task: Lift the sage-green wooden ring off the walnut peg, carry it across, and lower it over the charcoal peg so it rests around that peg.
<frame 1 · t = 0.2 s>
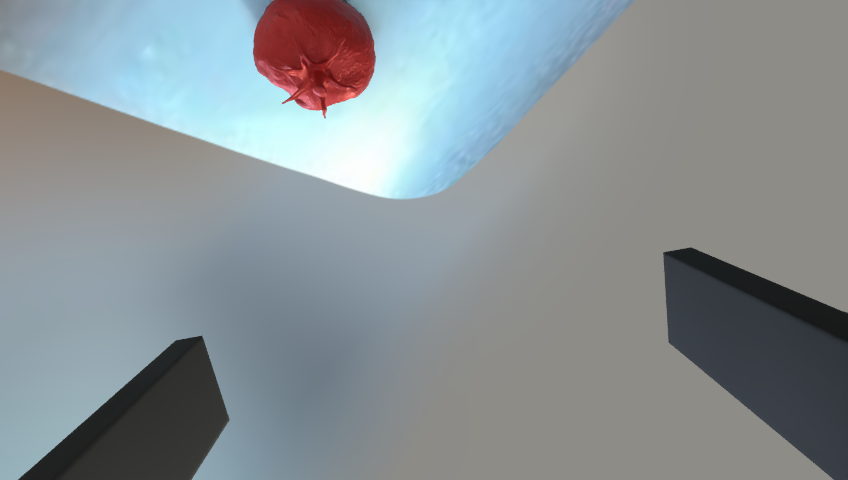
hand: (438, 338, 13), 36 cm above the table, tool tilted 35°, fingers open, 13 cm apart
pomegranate: (318, 34, 41), on the table
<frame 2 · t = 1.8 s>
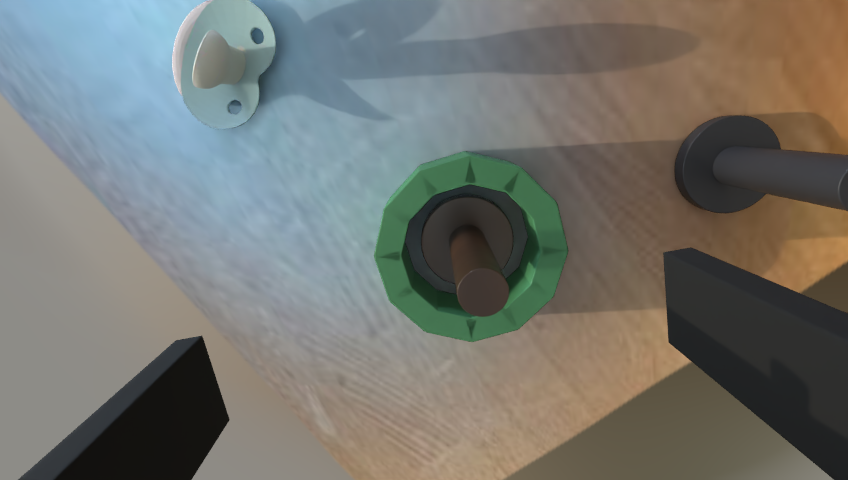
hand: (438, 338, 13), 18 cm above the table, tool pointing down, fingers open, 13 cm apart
charcoal peg: (722, 164, 29), on the table
ring: (466, 238, 31), on the table
pacifier: (228, 62, 28), on the table
walnut peg: (466, 238, 31), on the table
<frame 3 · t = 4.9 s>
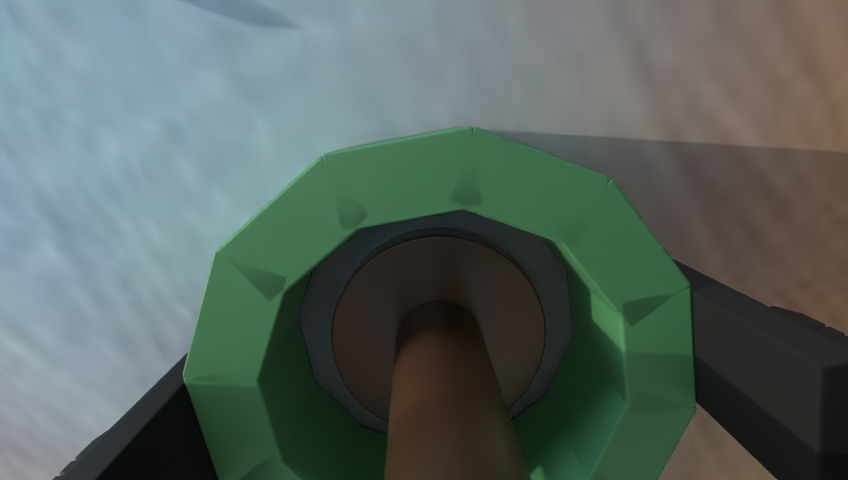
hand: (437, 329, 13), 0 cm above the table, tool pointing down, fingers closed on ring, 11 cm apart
ring: (437, 325, 14), on the table, touching gripper
walnut peg: (437, 325, 14), on the table
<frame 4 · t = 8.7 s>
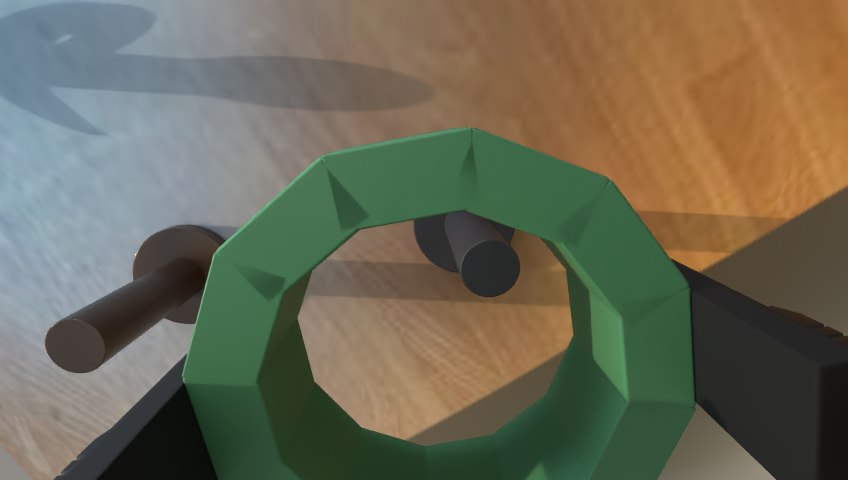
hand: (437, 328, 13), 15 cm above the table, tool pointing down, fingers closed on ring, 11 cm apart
charcoal peg: (462, 221, 28), on the table
ring: (437, 326, 14), point 15 cm above the table, touching gripper
walnut peg: (191, 272, 28), on the table
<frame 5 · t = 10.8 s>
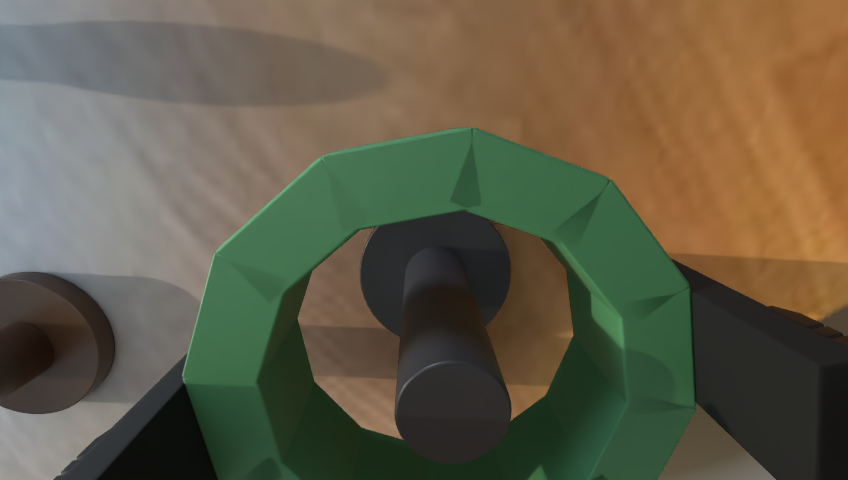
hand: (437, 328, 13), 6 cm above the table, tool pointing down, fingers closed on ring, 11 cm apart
charcoal peg: (434, 268, 19), on the table
ring: (437, 326, 14), point 6 cm above the table, touching gripper
walnut peg: (43, 338, 19), on the table
when the fingers open (0 cm above the table, at t = 12.8 s): ring stays where it is, on the table.
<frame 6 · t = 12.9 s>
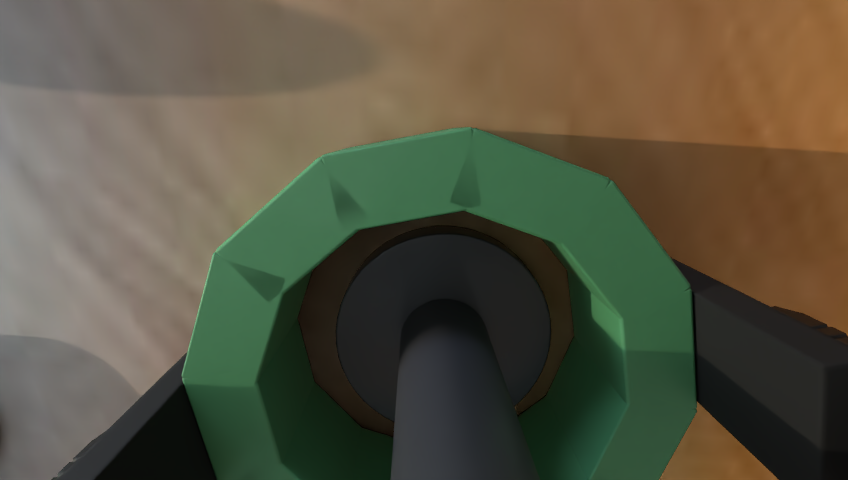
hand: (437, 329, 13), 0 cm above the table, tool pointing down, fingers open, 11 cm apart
charcoal peg: (441, 323, 14), on the table
ring: (437, 326, 14), on the table
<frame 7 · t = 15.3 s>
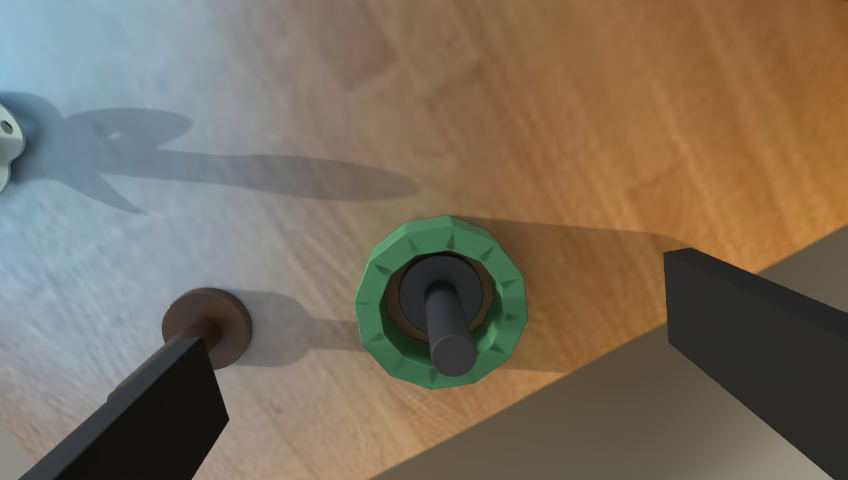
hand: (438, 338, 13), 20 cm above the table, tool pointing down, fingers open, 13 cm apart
charcoal peg: (440, 291, 33), on the table
ring: (438, 292, 33), on the table
walnut peg: (210, 326, 33), on the table
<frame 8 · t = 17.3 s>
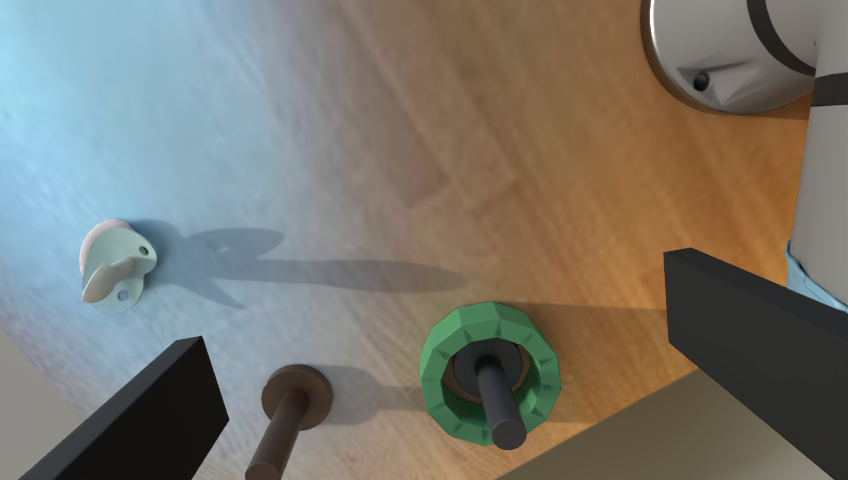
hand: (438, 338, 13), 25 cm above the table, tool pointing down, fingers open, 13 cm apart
charcoal peg: (486, 361, 40), on the table
ring: (484, 362, 40), on the table
pacifier: (124, 257, 38), on the table
walnut peg: (298, 394, 41), on the table
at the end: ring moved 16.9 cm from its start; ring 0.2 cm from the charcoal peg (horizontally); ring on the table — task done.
